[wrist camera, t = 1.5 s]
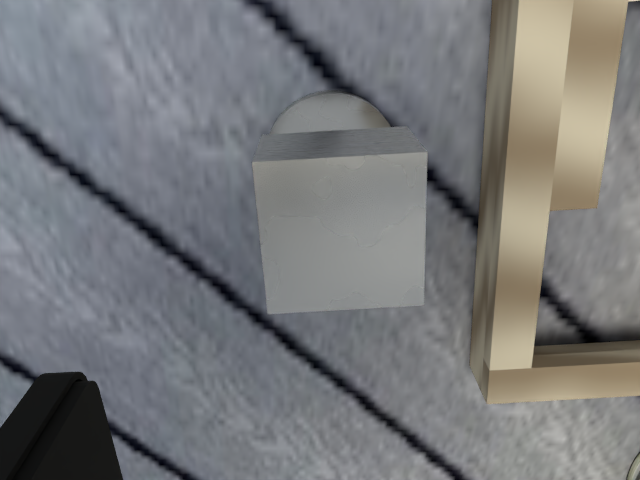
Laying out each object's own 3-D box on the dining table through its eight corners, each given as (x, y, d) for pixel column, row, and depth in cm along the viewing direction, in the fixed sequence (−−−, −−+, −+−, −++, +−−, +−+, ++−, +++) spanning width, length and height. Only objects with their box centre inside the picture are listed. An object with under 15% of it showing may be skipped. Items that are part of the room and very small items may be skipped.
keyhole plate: (689, 352, 30) (731, 390, 27) (469, 365, 30) (486, 404, 27) (807, -122, 22) (885, -142, 19) (498, -104, 22) (528, -121, 19)
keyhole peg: (395, 214, 27) (438, 318, 18) (271, 221, 27) (253, 328, 18) (396, 86, 24) (445, 133, 16) (259, 94, 24) (232, 146, 16)
